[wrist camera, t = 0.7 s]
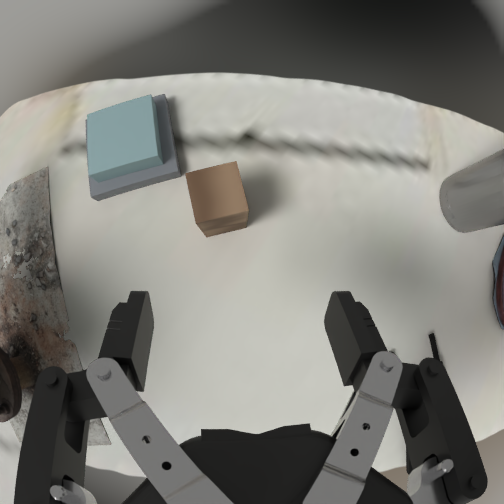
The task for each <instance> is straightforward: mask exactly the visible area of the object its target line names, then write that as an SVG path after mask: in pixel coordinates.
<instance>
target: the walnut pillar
mask: <svg viewBox="0 0 504 504" xmlns="http://www.w3.org/2000/svg"><path fill="white" fill-rule="evenodd" d="M185 174H186V179H187V184H188V189H189V194H190V198H191V203H192V208H193V212H194V217H195V221H196V224H197V225H198V227H199V228H200V229H201V231H202V232H203V233H204V235H205V236H206V237H210V236H214V235H218V234H222V233H226V232H231V231H235V230H239V229H243V228H246V225H247V219H248V213H249V209H248V205H247V201H246V197H245V193H244V189H243V185H242V181H241V177H240V173H239V169H238V165H237V162H236V161H235V162H230V163H226V164H222V165H217V166H213V167H209V168H205V169H201V170H197V171H193V172H189V173H185Z"/></svg>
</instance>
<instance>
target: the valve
mask: <svg viewBox="0 0 504 504" xmlns="http://www.w3.org/2000/svg"><path fill="white" fill-rule="evenodd" d="M6 191H7V193H5V194H4V196H3V197H2V200H1V201H0V422H6V421H8V420H9V421H10V423H11V425H12V427H13V429H14V431H15V433H16V436H17V438H18V440H19V442H22V440H23V435H24V430H25V426H26V421H27V417H28V413H29V408H30V404H31V400H32V397H33V393H34V389H35V385H36V382H37V378H38V376H39V374H40V373H41V372H42V371H43V370H44V369H46V368H48V367H51V366H57V367H60V368H62V369H63V370H64V371H65V372H66V374H67V373H72V372H78V371H83V370H82V367H81V363H80V360H79V356H78V353H77V349H76V346H75V344H74V343H73V342H72V341H71V340H68V341H65V340H64V339H63V338H62V337H61V338H60V337H59V334H60V335H61V336H64V334H63V331H64V330H65V334H66V333H67V332H69V326H68V324H67V321H69V319H68V315H67V311H66V307H65V302H64V297H63V293H62V289H61V287H60V282H59V275H58V271H57V268H56V266H55V250H54V246H53V238H52V231H51V227H50V203H49V188H48V167H46V168H44V169H42V170H39V171H37V172H35V173H33V174H31V175H29V176H27V177H25V178H23V179H20V180H18V181H16V182H14V183H12V184H10V185H9V187H8V188H7V190H6ZM23 248H24V249H25V254H24V256H23V254H22V253H21V254H20V255H18V256H17V255H16V254H15V251H18V252H23V251H24V250H23ZM8 253H9V256H11V258H12V260H10V264H7V269H6V268H3V266H4V264H5V263H4V262H3V256H5V255H7V254H8ZM32 256H33V258H34V260H33V261H32V263H31V264H29V265H28V266H29V268H28V267H27V266H26V269H30V272H31V275H32V278H33V280H32V281H31V279H28V281H26V278H25V277H26V276H25V277H24V278H23V279H22V278H21V279H19V278H16V279H14V278H13V276H14V273H15V274H16V273H17V268H19V265H21V264H22V263H23V262H24V260H25V262H28V261H30V259H31V258H32ZM35 257H37V259H38V260H37V262H36V259H35ZM6 258H7V257H5V259H6ZM6 263H7V261H6ZM14 265H15V267H14ZM19 273H20V274H21V271H19ZM58 333H59V334H58ZM87 445H111V442H110V440H109V438H108V436H107V434H106V432H105V429H104V427H103V424H102V422H101V420H100V418H98V419H92V420H90V425H89V433H88V441H87Z"/></svg>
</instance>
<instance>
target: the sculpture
mask: <svg viewBox="0 0 504 504" xmlns="http://www.w3.org/2000/svg"><path fill="white" fill-rule="evenodd" d="M493 267H494V272H495V278H496V282H495V290H494V296H493V299H494V304H495V308H496V313H497V317H498V320H499V323H500V326H501V328H502V329H504V237H503V239H502V241H501V244H500V246H499V248H498V250H497V252H496V254H495V257H494V259H493Z"/></svg>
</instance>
